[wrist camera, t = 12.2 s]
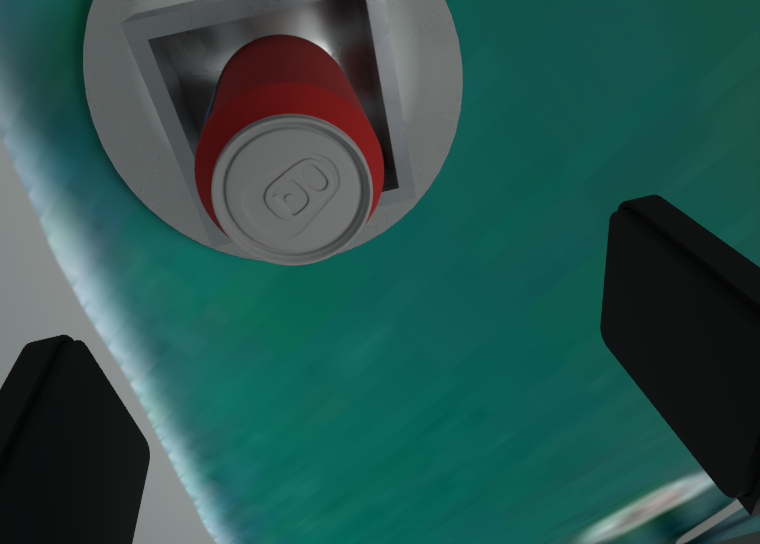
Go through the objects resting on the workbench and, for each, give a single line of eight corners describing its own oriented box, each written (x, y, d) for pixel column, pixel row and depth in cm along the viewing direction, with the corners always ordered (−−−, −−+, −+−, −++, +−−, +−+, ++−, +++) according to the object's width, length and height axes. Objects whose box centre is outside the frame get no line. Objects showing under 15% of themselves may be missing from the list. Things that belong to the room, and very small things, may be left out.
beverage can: (187, 93, 27) (140, 190, 17) (288, -2, 26) (301, 45, 16) (281, 187, 31) (288, 313, 21) (375, 108, 29) (431, 203, 19)
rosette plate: (9, -70, 24) (-36, -69, 20) (434, -160, 24) (462, -174, 21) (177, 283, 34) (167, 324, 31) (470, 211, 35) (492, 243, 32)
